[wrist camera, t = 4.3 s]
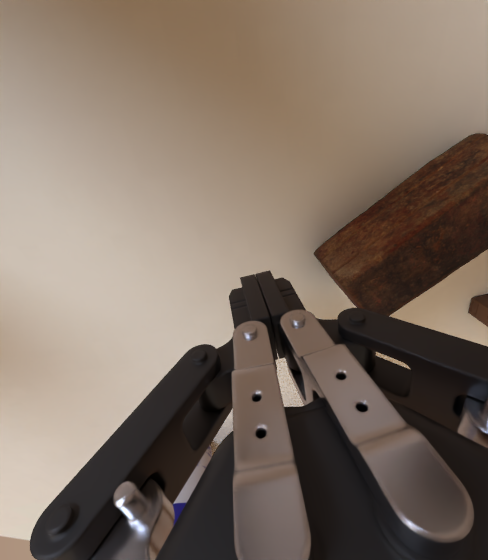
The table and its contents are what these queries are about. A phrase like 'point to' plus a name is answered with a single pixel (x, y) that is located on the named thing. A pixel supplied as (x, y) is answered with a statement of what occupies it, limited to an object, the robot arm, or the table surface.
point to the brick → (414, 232)
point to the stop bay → (480, 308)
